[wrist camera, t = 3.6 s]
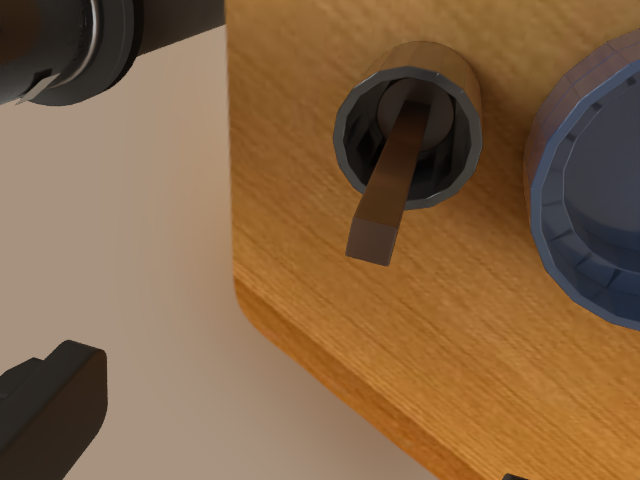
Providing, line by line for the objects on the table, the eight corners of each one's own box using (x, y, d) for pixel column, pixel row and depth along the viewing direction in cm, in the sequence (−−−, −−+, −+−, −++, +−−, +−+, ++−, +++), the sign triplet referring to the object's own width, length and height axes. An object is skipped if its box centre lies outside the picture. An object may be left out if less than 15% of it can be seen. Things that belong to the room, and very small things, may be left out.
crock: (349, 146, 35) (322, 191, 29) (372, 29, 32) (347, 52, 26) (462, 172, 34) (458, 224, 28) (497, 55, 31) (501, 85, 25)
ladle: (374, 132, 34) (298, 280, 19) (390, 60, 32) (317, 166, 17) (445, 148, 33) (419, 313, 19) (465, 77, 31) (453, 200, 17)
